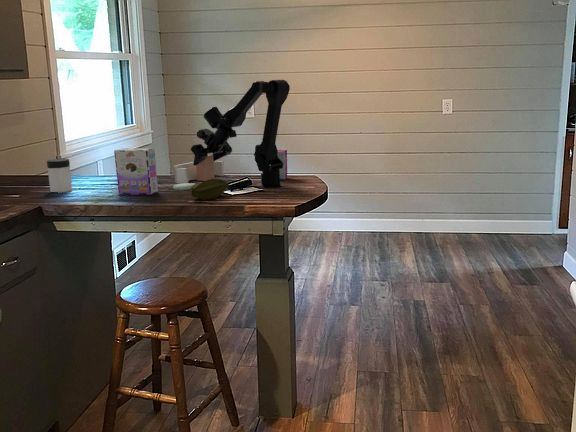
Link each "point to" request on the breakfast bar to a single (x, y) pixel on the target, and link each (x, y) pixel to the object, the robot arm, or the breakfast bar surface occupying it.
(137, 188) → the candy box
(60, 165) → the jar
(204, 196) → the fruit
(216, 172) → the bay
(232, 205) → the breakfast bar surface
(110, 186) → the breakfast bar surface
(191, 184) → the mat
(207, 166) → the block
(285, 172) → the supplement box
